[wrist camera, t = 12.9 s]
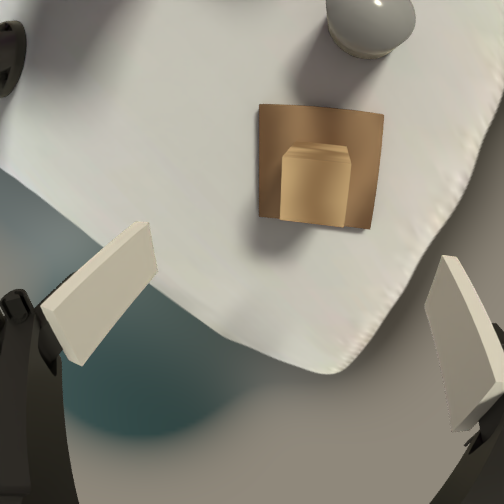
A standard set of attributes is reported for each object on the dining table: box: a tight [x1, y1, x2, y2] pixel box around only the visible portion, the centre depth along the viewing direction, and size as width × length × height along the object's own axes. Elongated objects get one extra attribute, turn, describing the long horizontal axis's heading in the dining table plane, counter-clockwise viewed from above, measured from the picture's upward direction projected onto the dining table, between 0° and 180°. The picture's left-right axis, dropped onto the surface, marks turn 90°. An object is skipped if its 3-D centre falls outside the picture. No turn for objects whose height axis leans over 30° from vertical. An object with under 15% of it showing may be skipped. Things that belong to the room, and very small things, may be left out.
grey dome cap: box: [326, 0, 416, 59], centre depth 18 cm, size 7×7×7 cm
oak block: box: [280, 141, 351, 227], centre depth 25 cm, size 5×5×8 cm
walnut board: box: [259, 104, 384, 229], centre depth 29 cm, size 12×12×1 cm
